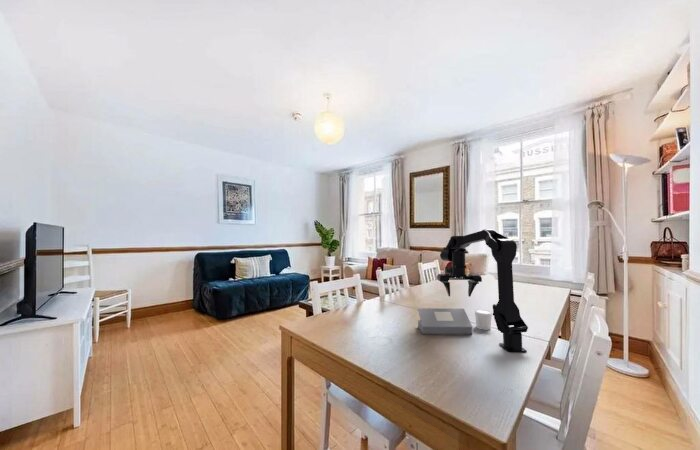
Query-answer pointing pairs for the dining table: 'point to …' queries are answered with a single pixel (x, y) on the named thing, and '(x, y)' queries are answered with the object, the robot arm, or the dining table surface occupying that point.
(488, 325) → the shot glass
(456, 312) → the lid flap
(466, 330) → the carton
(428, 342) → the dining table surface
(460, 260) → the robot arm
